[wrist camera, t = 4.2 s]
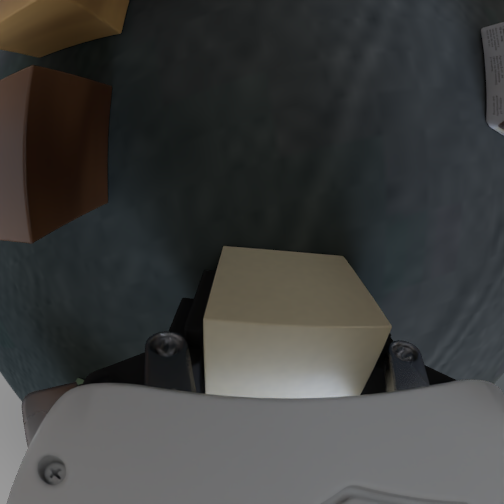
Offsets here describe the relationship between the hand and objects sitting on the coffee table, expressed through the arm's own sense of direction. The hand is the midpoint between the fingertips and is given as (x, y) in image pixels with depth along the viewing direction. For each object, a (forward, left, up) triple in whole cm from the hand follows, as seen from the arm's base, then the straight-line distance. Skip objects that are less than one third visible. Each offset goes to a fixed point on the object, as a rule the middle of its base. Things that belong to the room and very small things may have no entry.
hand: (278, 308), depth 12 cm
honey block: (-14, -10, 0) cm, 17 cm away
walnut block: (-7, -10, 0) cm, 12 cm away
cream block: (0, 0, 0) cm, 0 cm away
